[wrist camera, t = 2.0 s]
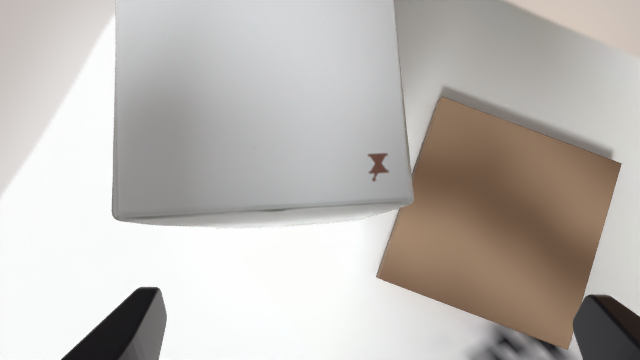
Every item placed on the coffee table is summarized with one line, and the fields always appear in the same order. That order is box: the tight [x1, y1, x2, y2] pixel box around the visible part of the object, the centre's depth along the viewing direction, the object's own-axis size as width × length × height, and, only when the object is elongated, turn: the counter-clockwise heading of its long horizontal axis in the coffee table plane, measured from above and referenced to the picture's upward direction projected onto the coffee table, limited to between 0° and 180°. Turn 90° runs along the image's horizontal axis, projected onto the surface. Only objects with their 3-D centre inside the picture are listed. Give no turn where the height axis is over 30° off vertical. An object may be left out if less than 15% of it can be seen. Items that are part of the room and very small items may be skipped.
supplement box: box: [112, 0, 414, 229], centre depth 17 cm, size 7×7×13 cm
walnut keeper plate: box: [376, 97, 621, 350], centre depth 23 cm, size 10×10×1 cm
